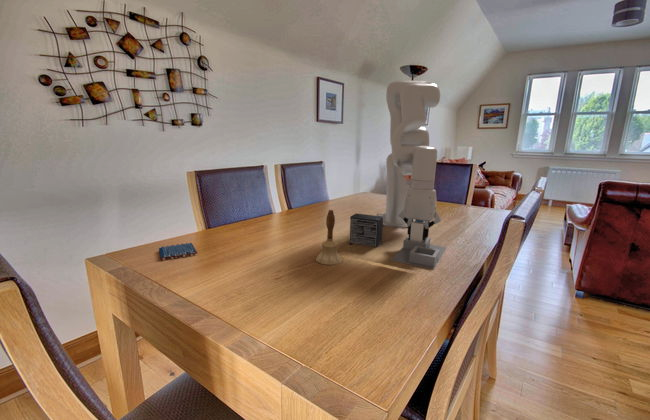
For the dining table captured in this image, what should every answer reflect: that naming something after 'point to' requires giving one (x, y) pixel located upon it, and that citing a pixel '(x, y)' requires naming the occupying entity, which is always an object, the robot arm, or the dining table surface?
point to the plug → (417, 230)
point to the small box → (366, 229)
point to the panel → (419, 253)
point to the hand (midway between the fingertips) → (417, 237)
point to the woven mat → (177, 251)
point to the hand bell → (329, 245)
